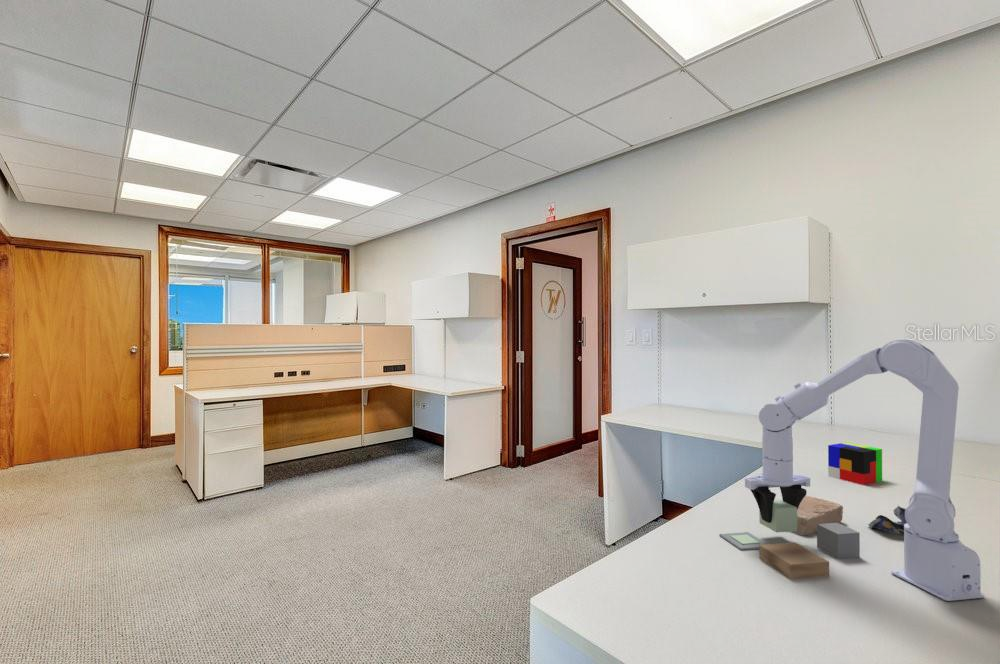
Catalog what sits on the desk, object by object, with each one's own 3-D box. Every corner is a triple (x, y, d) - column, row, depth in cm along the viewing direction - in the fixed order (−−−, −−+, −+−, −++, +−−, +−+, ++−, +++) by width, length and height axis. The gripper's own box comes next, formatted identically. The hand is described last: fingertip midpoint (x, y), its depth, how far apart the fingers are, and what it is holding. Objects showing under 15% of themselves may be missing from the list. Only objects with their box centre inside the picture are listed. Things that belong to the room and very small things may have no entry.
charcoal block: (859, 557, 92) (859, 532, 92) (838, 559, 91) (837, 534, 91) (837, 546, 97) (837, 522, 97) (817, 547, 96) (816, 524, 96)
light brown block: (829, 577, 84) (829, 561, 85) (790, 581, 83) (790, 564, 83) (795, 557, 92) (795, 542, 92) (759, 559, 91) (759, 544, 91)
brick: (805, 537, 101) (805, 516, 101) (768, 524, 109) (768, 504, 109) (844, 524, 109) (844, 504, 109) (807, 512, 117) (807, 494, 117)
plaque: (771, 548, 95) (771, 545, 95) (740, 550, 94) (740, 547, 94) (747, 533, 102) (748, 531, 102) (719, 535, 101) (719, 533, 101)
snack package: (880, 520, 112) (861, 530, 105) (886, 494, 111) (867, 503, 104) (948, 548, 102) (932, 560, 95) (955, 520, 101) (939, 531, 94)
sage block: (797, 530, 98) (797, 507, 98) (776, 532, 97) (776, 508, 97) (779, 521, 102) (779, 499, 103) (759, 523, 102) (759, 500, 102)
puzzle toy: (828, 476, 147) (828, 445, 147) (846, 472, 151) (846, 442, 151) (863, 485, 138) (863, 452, 138) (882, 481, 142) (882, 449, 142)
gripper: (792, 452, 105) (792, 511, 105) (735, 454, 103) (735, 515, 102) (818, 460, 98) (818, 523, 98) (757, 462, 96) (758, 527, 95)
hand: (777, 520), depth 100 cm, fingers closed on sage block, 5 cm apart
